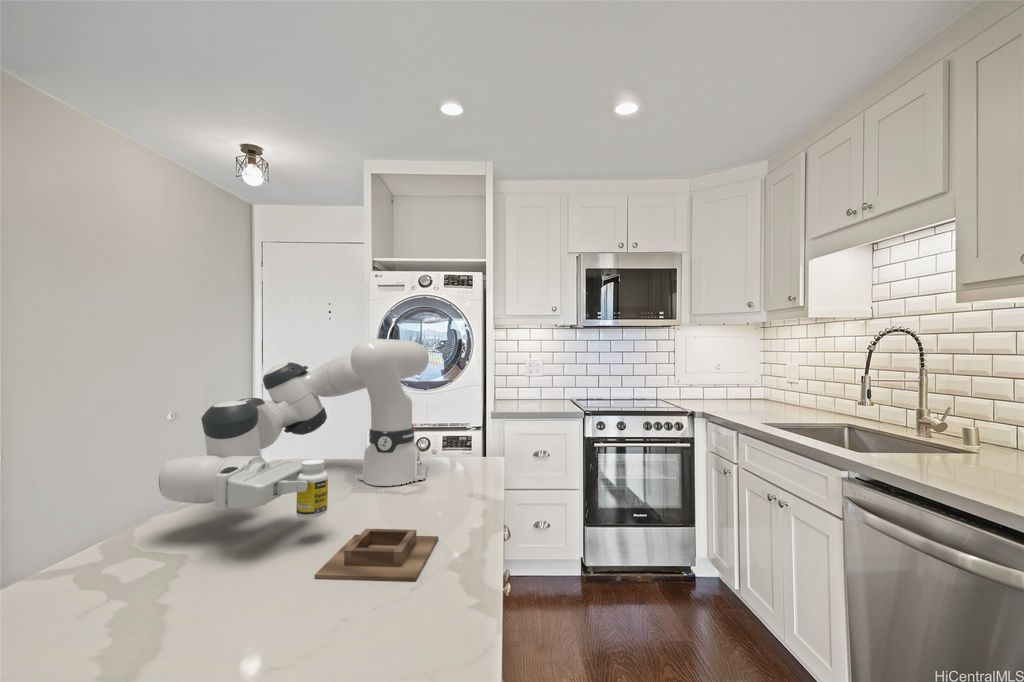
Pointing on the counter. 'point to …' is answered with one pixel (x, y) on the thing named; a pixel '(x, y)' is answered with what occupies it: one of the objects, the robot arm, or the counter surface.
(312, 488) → the supplement bottle
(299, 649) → the counter surface
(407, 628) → the counter surface
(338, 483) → the counter surface
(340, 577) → the walnut can holder
